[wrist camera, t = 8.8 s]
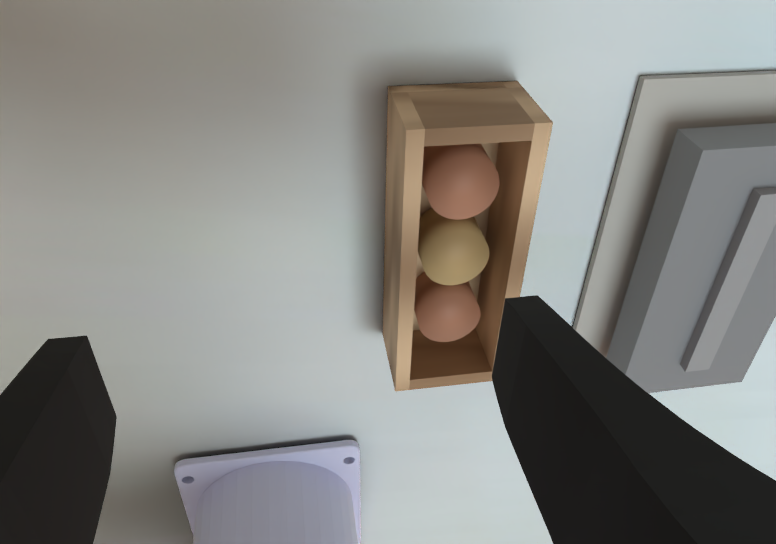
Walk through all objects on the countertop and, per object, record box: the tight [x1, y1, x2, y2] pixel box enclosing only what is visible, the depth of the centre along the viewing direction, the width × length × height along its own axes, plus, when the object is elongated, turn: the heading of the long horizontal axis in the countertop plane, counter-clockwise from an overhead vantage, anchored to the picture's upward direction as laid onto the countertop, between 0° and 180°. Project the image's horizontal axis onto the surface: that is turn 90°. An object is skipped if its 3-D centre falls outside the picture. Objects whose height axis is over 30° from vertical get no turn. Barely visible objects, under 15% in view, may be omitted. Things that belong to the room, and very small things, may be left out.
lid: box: [606, 123, 776, 393], centre depth 24 cm, size 11×6×2 cm, turn 179°
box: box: [383, 81, 553, 391], centre depth 21 cm, size 10×4×3 cm, turn 179°
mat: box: [573, 70, 776, 358], centre depth 25 cm, size 14×8×1 cm, turn 179°
